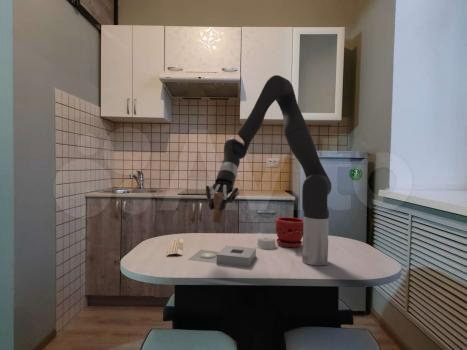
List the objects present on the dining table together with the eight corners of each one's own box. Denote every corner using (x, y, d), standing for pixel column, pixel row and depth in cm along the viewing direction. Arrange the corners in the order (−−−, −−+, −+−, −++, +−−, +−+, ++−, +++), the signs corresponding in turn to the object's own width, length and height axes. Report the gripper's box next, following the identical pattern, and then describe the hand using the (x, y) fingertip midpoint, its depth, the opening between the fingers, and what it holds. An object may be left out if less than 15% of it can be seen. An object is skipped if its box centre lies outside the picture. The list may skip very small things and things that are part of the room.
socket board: (255, 258, 114) (256, 248, 114) (248, 269, 102) (249, 258, 102) (200, 252, 120) (201, 242, 120) (187, 262, 108) (187, 251, 108)
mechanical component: (260, 244, 135) (250, 249, 126) (260, 234, 135) (251, 239, 126) (280, 247, 131) (272, 253, 122) (281, 237, 130) (273, 243, 122)
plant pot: (298, 250, 126) (299, 223, 125) (270, 245, 133) (271, 219, 132) (308, 244, 137) (308, 218, 137) (281, 239, 144) (282, 215, 143)
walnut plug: (223, 220, 113) (224, 192, 112) (220, 222, 109) (221, 193, 109) (214, 219, 114) (215, 191, 113) (211, 221, 110) (212, 192, 110)
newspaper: (170, 242, 137) (170, 238, 137) (185, 241, 138) (185, 238, 138) (166, 258, 114) (166, 253, 114) (184, 257, 115) (184, 253, 115)
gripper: (208, 168, 120) (195, 201, 109) (242, 170, 116) (232, 204, 105) (212, 180, 125) (200, 213, 114) (245, 182, 121) (235, 216, 110)
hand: (216, 209), depth 109 cm, fingers closed on walnut plug, 3 cm apart
